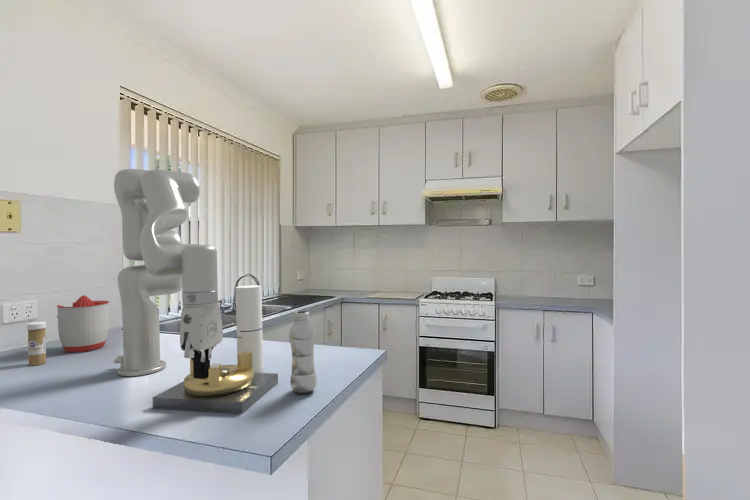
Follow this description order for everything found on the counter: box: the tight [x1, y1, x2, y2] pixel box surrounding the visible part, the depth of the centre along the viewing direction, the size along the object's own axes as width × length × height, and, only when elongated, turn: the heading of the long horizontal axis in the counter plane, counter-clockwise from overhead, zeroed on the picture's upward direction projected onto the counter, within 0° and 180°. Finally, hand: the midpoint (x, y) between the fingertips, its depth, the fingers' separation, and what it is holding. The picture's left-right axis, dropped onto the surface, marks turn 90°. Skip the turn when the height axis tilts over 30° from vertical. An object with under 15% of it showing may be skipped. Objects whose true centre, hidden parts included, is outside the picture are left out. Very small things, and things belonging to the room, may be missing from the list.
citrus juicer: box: [56, 294, 110, 353], centre depth 143 cm, size 16×17×20 cm
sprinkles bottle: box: [26, 321, 48, 366], centre depth 125 cm, size 5×5×13 cm
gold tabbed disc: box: [183, 351, 254, 396], centre depth 96 cm, size 16×16×6 cm
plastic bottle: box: [288, 310, 318, 394], centre depth 97 cm, size 6×7×20 cm
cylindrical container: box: [235, 284, 264, 373], centre depth 113 cm, size 7×7×25 cm
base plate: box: [152, 372, 279, 414], centre depth 96 cm, size 22×19×3 cm
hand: (201, 377), depth 90 cm, fingers closed
